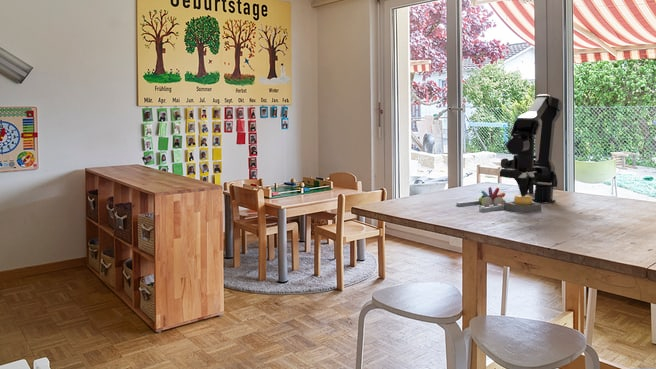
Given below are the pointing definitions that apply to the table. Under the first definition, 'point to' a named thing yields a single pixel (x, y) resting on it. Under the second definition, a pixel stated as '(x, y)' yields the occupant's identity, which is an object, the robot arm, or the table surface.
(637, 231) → the table surface
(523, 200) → the dome
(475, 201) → the rail
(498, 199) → the multicoloured petal shapes
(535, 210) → the dome housing
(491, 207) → the rail
